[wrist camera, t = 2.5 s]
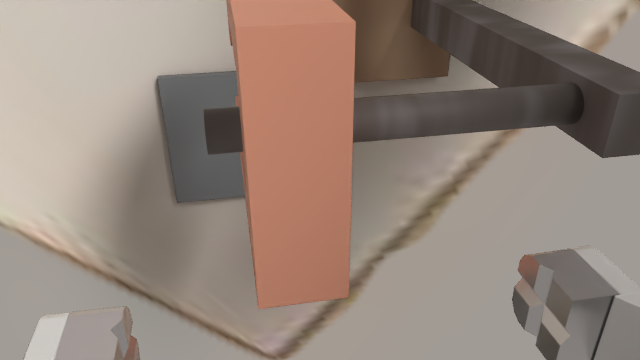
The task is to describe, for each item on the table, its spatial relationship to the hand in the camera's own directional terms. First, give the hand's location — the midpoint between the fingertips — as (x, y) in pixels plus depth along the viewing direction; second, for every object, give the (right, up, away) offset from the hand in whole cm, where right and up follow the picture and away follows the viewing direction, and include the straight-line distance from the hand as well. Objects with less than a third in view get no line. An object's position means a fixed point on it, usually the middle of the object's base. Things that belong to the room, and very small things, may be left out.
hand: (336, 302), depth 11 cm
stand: (0, +14, +26) cm, 30 cm away
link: (-3, +8, +15) cm, 17 cm away
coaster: (-7, +6, +29) cm, 31 cm away
